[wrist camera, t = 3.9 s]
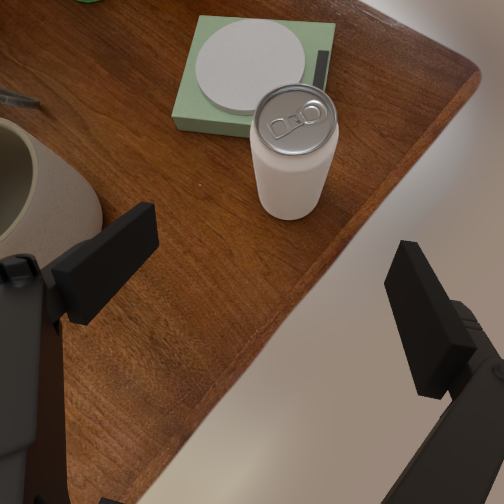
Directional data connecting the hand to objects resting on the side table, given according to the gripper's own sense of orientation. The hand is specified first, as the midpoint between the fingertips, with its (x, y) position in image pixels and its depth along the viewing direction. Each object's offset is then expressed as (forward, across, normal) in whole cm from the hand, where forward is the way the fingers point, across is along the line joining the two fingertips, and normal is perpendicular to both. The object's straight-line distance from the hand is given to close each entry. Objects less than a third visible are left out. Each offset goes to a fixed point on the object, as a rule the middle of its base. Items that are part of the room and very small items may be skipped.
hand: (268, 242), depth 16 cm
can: (+17, 0, -3) cm, 17 cm away
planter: (+11, -24, -9) cm, 28 cm away
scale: (+26, -6, +6) cm, 27 cm away
